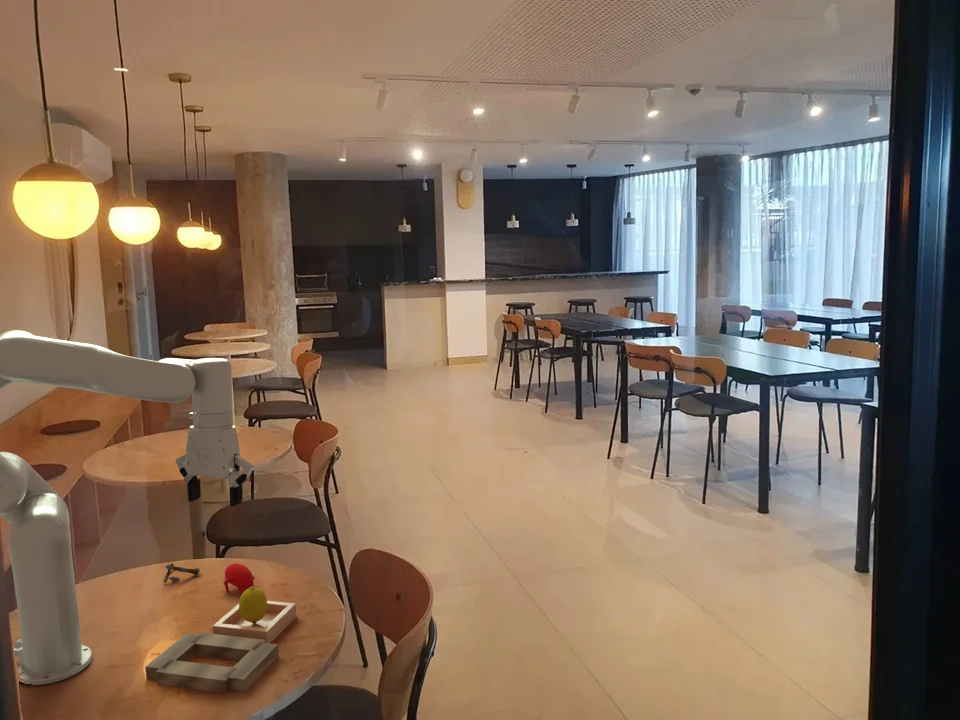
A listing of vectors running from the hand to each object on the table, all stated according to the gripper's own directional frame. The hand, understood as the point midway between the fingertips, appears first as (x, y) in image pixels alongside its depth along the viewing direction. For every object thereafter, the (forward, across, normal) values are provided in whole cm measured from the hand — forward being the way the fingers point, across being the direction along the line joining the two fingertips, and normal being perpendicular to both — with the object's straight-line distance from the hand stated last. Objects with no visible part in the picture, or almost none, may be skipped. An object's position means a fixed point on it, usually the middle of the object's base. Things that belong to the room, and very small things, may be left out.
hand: (215, 502), depth 150 cm
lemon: (+26, +8, +1) cm, 27 cm away
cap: (+27, -5, +16) cm, 31 cm away
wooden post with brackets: (+27, -22, +18) cm, 39 cm away
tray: (+26, +8, +1) cm, 28 cm away
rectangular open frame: (+27, +9, -14) cm, 31 cm away
